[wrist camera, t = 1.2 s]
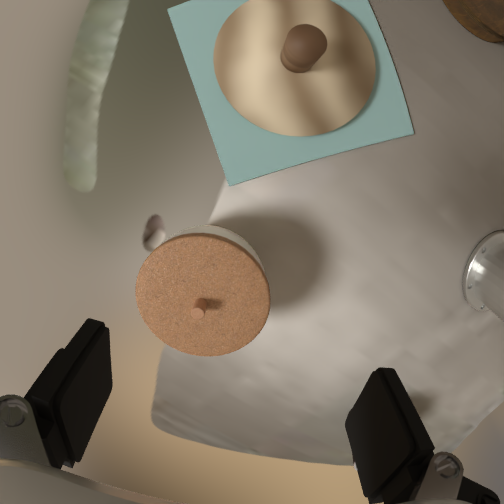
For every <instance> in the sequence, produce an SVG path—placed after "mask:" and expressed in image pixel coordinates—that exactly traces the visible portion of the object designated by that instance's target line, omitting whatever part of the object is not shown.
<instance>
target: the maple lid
mask: <svg viewBox="0 0 504 504" xmlns="http://www.w3.org/2000/svg"><path fill="white" fill-rule="evenodd" d="M213 63H214V71H215V75H216V78H217V82H218V84H219V86H220V88H221V91H222V92H223V94H224V95H225V97H226V99H227V100H228V102H229V103H230V104H231V105H232V107H233V108H234V109H235V110H236V111H237V112H238V113H239V114H240V115H241V116H243V117H244V118H245V119H247V120H248V121H249V122H251V123H253V124H254V125H256V126H258V127H260V128H262V129H265V130H267V131H269V132H273V133H276V134H280V135H286V136H298V137H302V136H314V135H319V134H324V133H327V132H330V131H333V130H335V129H337V128H339V127H341V126H343V125H344V124H346V123H347V122H349V121H350V120H351V119H352V118H354V117H355V116H356V115H357V114H358V113H359V112H360V110H361V109H362V108H363V107H364V105H365V104H366V102H367V100H368V99H369V96H370V94H371V92H372V89H373V85H374V81H375V73H376V66H375V57H374V52H373V49H372V46H371V43H370V41H369V39H368V37H367V35H366V33H365V31H364V30H363V28H362V27H361V25H360V24H359V23H358V22H357V21H356V19H355V18H354V17H353V16H352V15H351V14H350V13H348V12H347V11H346V10H345V9H343V8H342V7H341V6H339V5H338V4H336V3H334V2H332V1H331V0H249V1H247V2H245V3H244V4H242V5H241V6H239V7H238V8H237V9H236V10H235V11H234V12H233V13H232V14H231V15H230V16H229V17H228V18H227V19H226V21H225V22H224V24H223V25H222V27H221V29H220V31H219V33H218V36H217V39H216V41H215V46H214V53H213Z"/></svg>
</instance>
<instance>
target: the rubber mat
mask: <svg viewBox="0 0 504 504" xmlns="http://www.w3.org/2000/svg"><path fill="white" fill-rule="evenodd" d="M247 1H249V0H191V1H188V2H185V3H182V4H180V5H177V6H174V7H172V8H169V9H168V13H169V16H170V19H171V22H172V25H173V27H174V30H175V33H176V36H177V39H178V42H179V45H180V47H181V50H182V53H183V55H184V59H185V62H186V65H187V67H188V70H189V73H190V76H191V79H192V81H193V84H194V87H195V90H196V93H197V96H198V99H199V102H200V104H201V107H202V110H203V113H204V116H205V119H206V121H207V124H208V127H209V130H210V133H211V136H212V139H213V141H214V144H215V147H216V150H217V153H218V156H219V159H220V161H221V164H222V167H223V170H224V173H225V176H226V179H227V182H228V184H229V186H232V185H235V184H238V183H241V182H244V181H247V180H250V179H253V178H256V177H259V176H262V175H265V174H269V173H272V172H275V171H278V170H282V169H285V168H288V167H291V166H295V165H298V164H301V163H305V162H308V161H312V160H315V159H319V158H322V157H326V156H329V155H333V154H336V153H340V152H344V151H347V150H351V149H355V148H359V147H363V146H366V145H370V144H374V143H378V142H382V141H386V140H390V139H395V138H399V137H403V136H407V135H412V134H414V132H413V128H412V124H411V120H410V116H409V112H408V109H407V105H406V102H405V98H404V95H403V92H402V89H401V85H400V82H399V79H398V76H397V73H396V70H395V67H394V64H393V61H392V59H391V56H390V53H389V50H388V48H387V45H386V42H385V40H384V37H383V35H382V32H381V30H380V27H379V25H378V22H377V20H376V18H375V15H374V13H373V11H372V9H371V6H370V4H369V2H368V0H331V1H332V2H334V3H336V4H338V5H339V6H341V7H342V8H343V9H345V10H346V11H347V12H348V13H350V14H351V15H352V16H353V17H354V18H355V19H356V21H357V22H358V23H359V24H360V25H361V27H362V28H363V30H364V31H365V33H366V35H367V37H368V39H369V41H370V43H371V46H372V49H373V52H374V57H375V66H376V73H375V81H374V85H373V89H372V92H371V94H370V96H369V99H368V100H367V102H366V104H365V105H364V107H363V108H362V109H361V110H360V112H359V113H358V114H357V115H356V116H355V117H354V118H352V119H351V120H350V121H349V122H347V123H346V124H344V125H343V126H341V127H339V128H337V129H335V130H333V131H330V132H327V133H324V134H319V135H314V136H302V137H298V136H286V135H280V134H276V133H273V132H269V131H267V130H265V129H262V128H260V127H258V126H256V125H254V124H253V123H251V122H249V121H248V120H247V119H245V118H244V117H243V116H241V115H240V114H239V113H238V112H237V111H236V110H235V109H234V108H233V107H232V105H231V104H230V103H229V102H228V100H227V99H226V97H225V95H224V94H223V92H222V91H221V88H220V86H219V84H218V82H217V78H216V75H215V71H214V63H213V53H214V46H215V41H216V39H217V36H218V33H219V31H220V29H221V27H222V25H223V24H224V22H225V21H226V19H227V18H228V17H229V16H230V15H231V14H232V13H233V12H234V11H235V10H236V9H237V8H238V7H239V6H241V5H242V4H244V3H245V2H247Z"/></svg>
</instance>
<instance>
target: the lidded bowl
mask: <svg viewBox="0 0 504 504" xmlns="http://www.w3.org/2000/svg"><path fill="white" fill-rule="evenodd" d="M136 300H137V305H138V308H139V311H140V314H141V316H142V318H143V320H144V322H145V323H146V324H147V326H148V327H149V328H150V330H151V331H152V332H153V333H154V334H155V335H156V336H157V337H158V338H159V339H160V340H162V341H163V342H164V343H166V344H167V345H169V346H171V347H173V348H175V349H177V350H179V351H181V352H184V353H188V354H192V355H197V356H219V355H224V354H228V353H231V352H234V351H236V350H239V349H240V348H242V347H244V346H245V345H247V344H248V343H250V342H251V341H252V340H253V339H254V338H255V337H256V336H257V335H258V334H259V333H260V331H261V330H262V328H263V327H264V325H265V323H266V320H267V318H268V315H269V310H270V290H269V284H268V281H267V278H266V274H265V271H264V268H263V265H262V263H261V261H260V259H259V257H258V255H257V253H256V252H255V251H254V249H253V248H252V247H251V245H250V244H249V243H247V242H246V241H245V240H244V239H243V238H242V237H241V236H239V235H238V234H236V233H234V232H232V231H230V230H228V229H225V228H222V227H219V226H212V225H200V226H194V227H190V228H186V229H183V230H181V231H179V232H177V233H175V234H173V235H172V236H170V237H169V238H168V239H166V240H165V241H164V242H163V243H162V244H161V245H160V246H158V247H157V248H156V249H155V250H154V251H153V252H152V253H151V254H150V255H149V256H148V257H147V259H146V260H145V262H144V263H143V265H142V267H141V269H140V271H139V274H138V277H137V282H136Z"/></svg>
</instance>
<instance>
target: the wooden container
mask: <svg viewBox="0 0 504 504" xmlns="http://www.w3.org/2000/svg"><path fill="white" fill-rule="evenodd" d="M443 2H444V3H445V5H446V6H447V8H448V9H449V11H450V12H451V13H452V15H453V16H454V17H455V18H456V19H457V20H458V22H459V23H460V24H462V25H463V26H464V27H465V28H466V29H467V30H468V31H470V32H471V33H472V34H474V35H475V36H477V37H479V38H481V39H483V40H485V41H488V42H494V43H497V42H503V41H504V0H443Z"/></svg>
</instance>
